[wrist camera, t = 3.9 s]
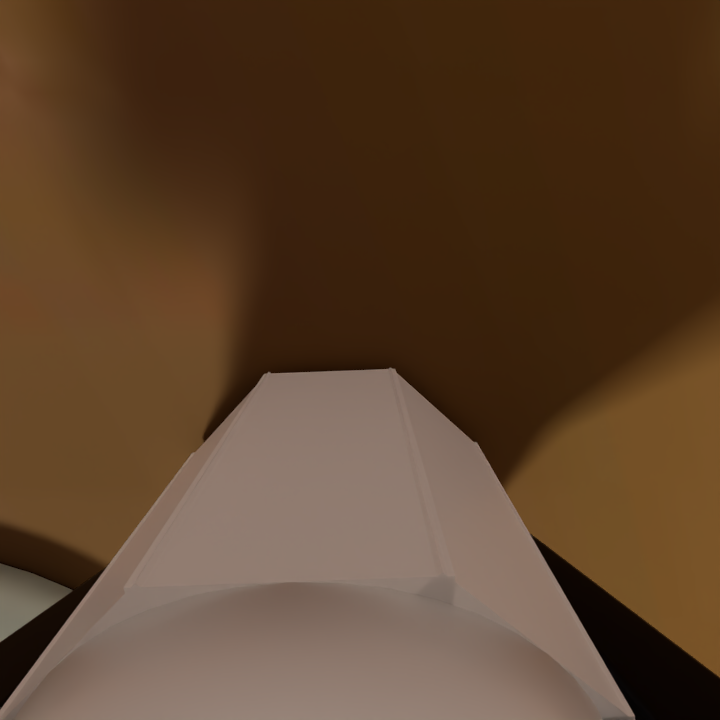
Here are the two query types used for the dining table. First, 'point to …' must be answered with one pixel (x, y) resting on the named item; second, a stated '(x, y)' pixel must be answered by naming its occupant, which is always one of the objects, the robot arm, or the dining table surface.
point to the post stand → (24, 598)
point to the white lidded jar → (326, 580)
